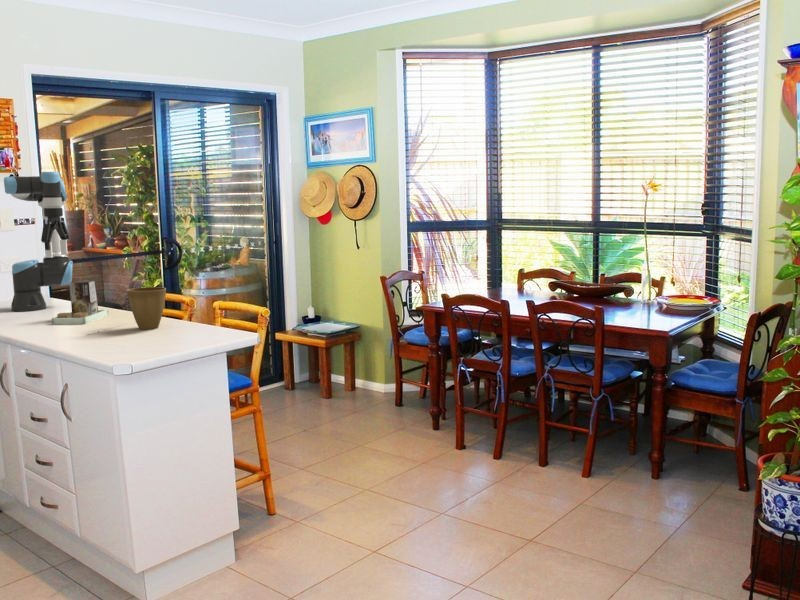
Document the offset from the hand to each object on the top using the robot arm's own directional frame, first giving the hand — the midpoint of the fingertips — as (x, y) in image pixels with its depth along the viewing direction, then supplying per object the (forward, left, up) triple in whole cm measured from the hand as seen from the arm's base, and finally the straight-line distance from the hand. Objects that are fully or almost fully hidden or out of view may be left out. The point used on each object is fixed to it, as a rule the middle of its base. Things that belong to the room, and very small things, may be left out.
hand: (56, 255), depth 334 cm
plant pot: (+30, +51, -28) cm, 65 cm away
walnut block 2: (+21, +19, -26) cm, 39 cm away
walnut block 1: (+21, +12, -26) cm, 36 cm away
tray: (+14, +15, -27) cm, 34 cm away
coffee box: (+9, +15, -27) cm, 32 cm away
